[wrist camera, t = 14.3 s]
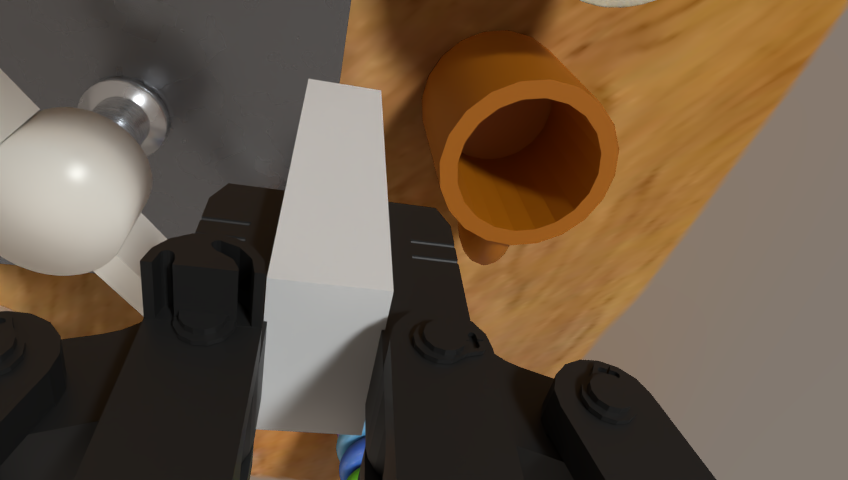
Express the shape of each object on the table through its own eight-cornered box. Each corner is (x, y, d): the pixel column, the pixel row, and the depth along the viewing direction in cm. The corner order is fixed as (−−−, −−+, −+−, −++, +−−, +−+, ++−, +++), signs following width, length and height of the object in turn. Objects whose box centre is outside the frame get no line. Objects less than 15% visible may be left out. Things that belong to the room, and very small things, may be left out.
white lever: (-86, 92, 25) (-152, 131, 22) (23, 17, 24) (-30, 45, 21) (204, 358, 35) (188, 413, 31) (293, 313, 33) (286, 365, 30)
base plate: (-136, -175, 27) (-465, -184, 16) (359, -65, 31) (361, -14, 20) (-43, 238, 38) (-198, 395, 28) (311, 278, 43) (296, 427, 32)
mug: (377, 182, 39) (380, 260, 32) (462, 2, 34) (491, 45, 26) (498, 228, 42) (527, 311, 34) (595, 68, 36) (656, 124, 29)
